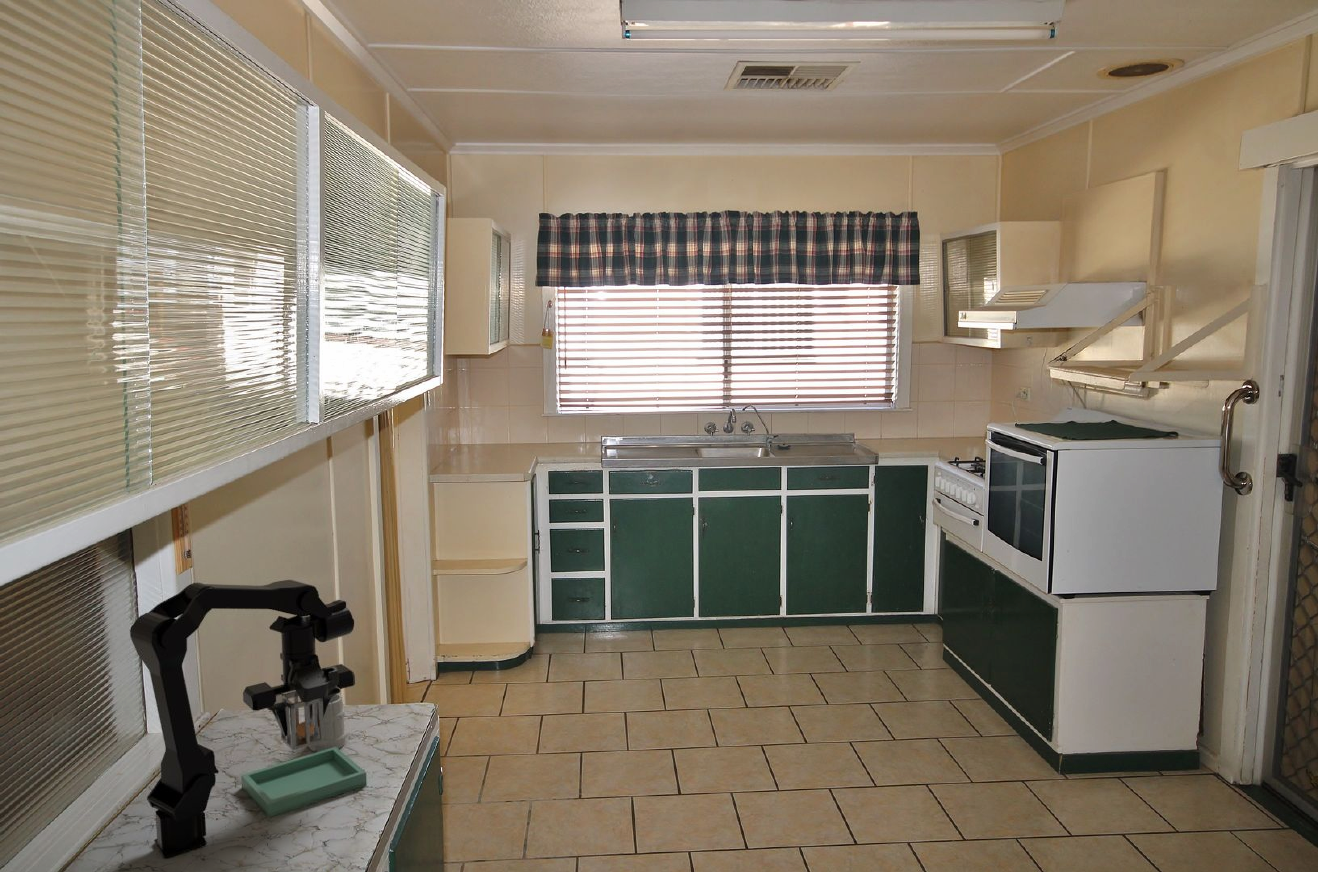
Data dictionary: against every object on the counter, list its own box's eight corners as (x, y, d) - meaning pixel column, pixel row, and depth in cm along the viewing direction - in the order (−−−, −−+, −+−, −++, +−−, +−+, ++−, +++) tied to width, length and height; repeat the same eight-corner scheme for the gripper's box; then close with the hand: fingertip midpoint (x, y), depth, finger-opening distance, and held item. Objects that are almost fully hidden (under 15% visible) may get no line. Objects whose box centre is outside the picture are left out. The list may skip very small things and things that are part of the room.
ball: (299, 742, 175) (304, 728, 174) (291, 734, 177) (295, 719, 176) (314, 740, 177) (318, 725, 177) (305, 731, 179) (310, 717, 179)
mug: (306, 755, 191) (303, 698, 189) (309, 730, 202) (307, 676, 200) (346, 750, 193) (344, 693, 191) (347, 726, 204) (345, 672, 202)
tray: (268, 817, 167) (267, 804, 167) (241, 787, 178) (241, 775, 177) (366, 785, 179) (366, 772, 179) (336, 758, 189) (335, 746, 189)
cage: (292, 750, 173) (290, 705, 172) (281, 739, 177) (279, 695, 176) (324, 741, 177) (322, 697, 176) (312, 730, 181) (310, 687, 180)
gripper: (261, 674, 163) (265, 761, 165) (366, 649, 175) (368, 731, 177) (240, 656, 171) (244, 739, 173) (341, 634, 183) (344, 712, 185)
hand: (302, 730), depth 177 cm, fingers closed on cage, 6 cm apart
